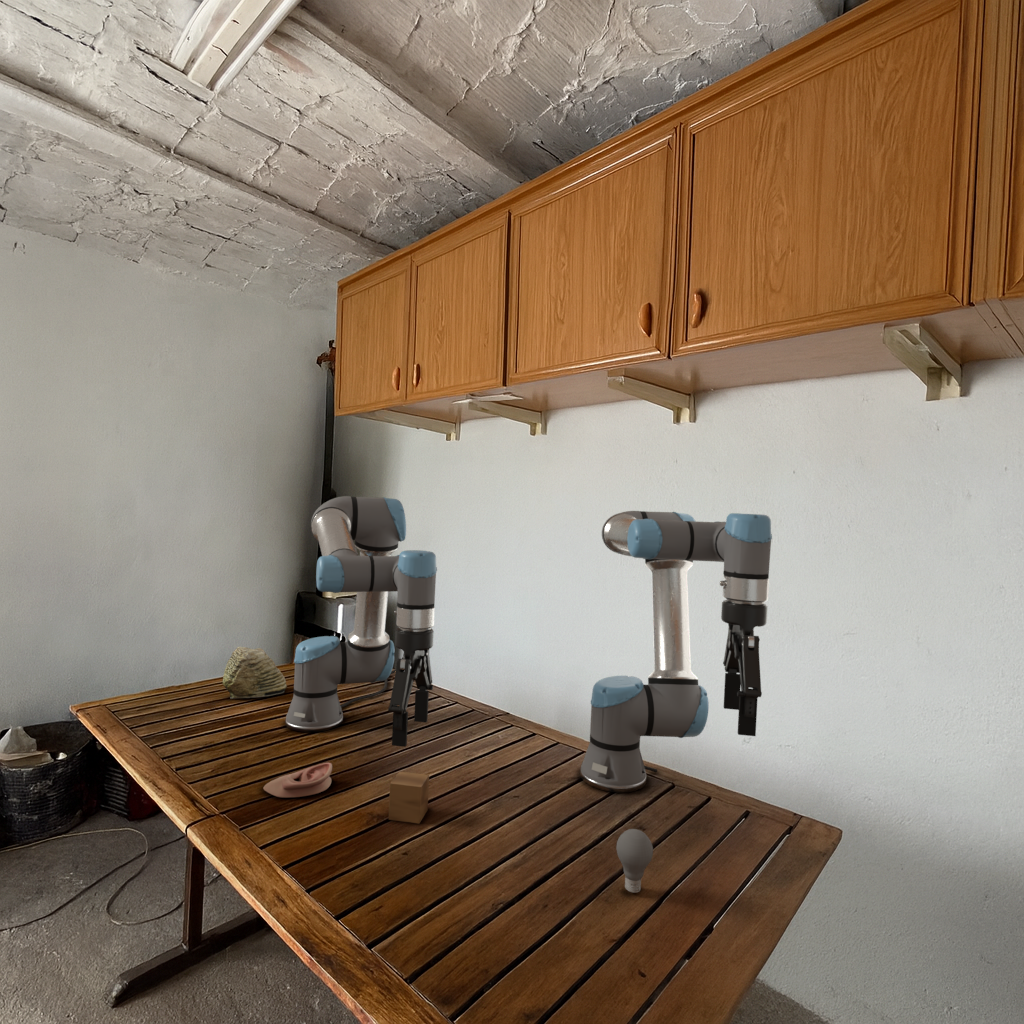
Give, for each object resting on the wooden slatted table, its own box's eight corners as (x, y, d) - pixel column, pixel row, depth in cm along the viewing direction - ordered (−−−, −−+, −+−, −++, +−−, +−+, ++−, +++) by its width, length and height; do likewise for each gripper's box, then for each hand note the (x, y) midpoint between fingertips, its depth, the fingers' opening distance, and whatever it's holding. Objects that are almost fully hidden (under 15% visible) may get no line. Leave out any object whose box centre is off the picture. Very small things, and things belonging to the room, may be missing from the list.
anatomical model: (255, 775, 133) (285, 754, 145) (254, 793, 133) (285, 771, 145) (313, 783, 131) (339, 761, 142) (312, 802, 131) (338, 779, 142)
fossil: (218, 695, 195) (220, 647, 195) (278, 685, 208) (279, 640, 207) (228, 703, 189) (230, 653, 188) (289, 692, 201) (290, 645, 201)
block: (398, 806, 131) (399, 771, 131) (427, 810, 130) (429, 774, 130) (388, 819, 126) (389, 783, 125) (419, 823, 125) (420, 786, 124)
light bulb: (610, 879, 108) (613, 822, 108) (644, 879, 109) (647, 822, 109) (619, 902, 102) (622, 840, 102) (655, 901, 103) (658, 840, 103)
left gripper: (416, 615, 140) (412, 711, 140) (373, 639, 115) (369, 754, 116) (449, 618, 139) (445, 714, 139) (413, 642, 114) (408, 759, 115)
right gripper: (711, 590, 124) (706, 697, 125) (735, 611, 100) (729, 745, 100) (751, 592, 123) (746, 701, 123) (786, 614, 98) (779, 750, 99)
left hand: (410, 733), depth 127 cm, fingers open, 13 cm apart
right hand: (738, 721), depth 112 cm, fingers open, 13 cm apart
